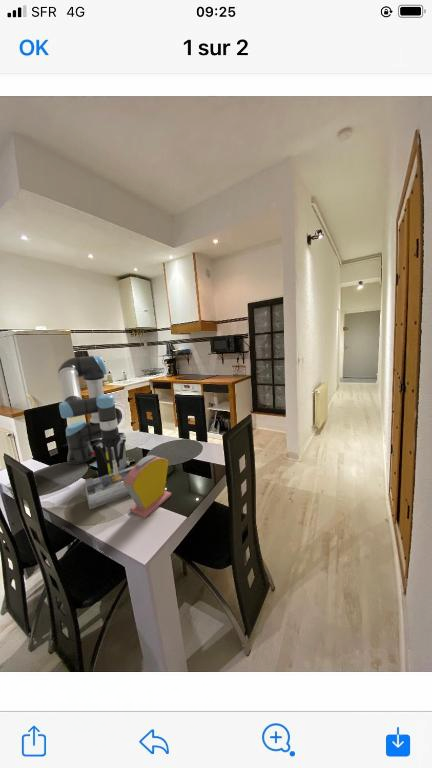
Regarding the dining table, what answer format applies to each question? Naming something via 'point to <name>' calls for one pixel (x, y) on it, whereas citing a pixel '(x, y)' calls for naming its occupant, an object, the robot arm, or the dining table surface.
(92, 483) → the grey slider block
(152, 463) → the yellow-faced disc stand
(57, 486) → the dining table surface
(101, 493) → the rail slide plate
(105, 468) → the electrical component
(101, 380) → the robot arm
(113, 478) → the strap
